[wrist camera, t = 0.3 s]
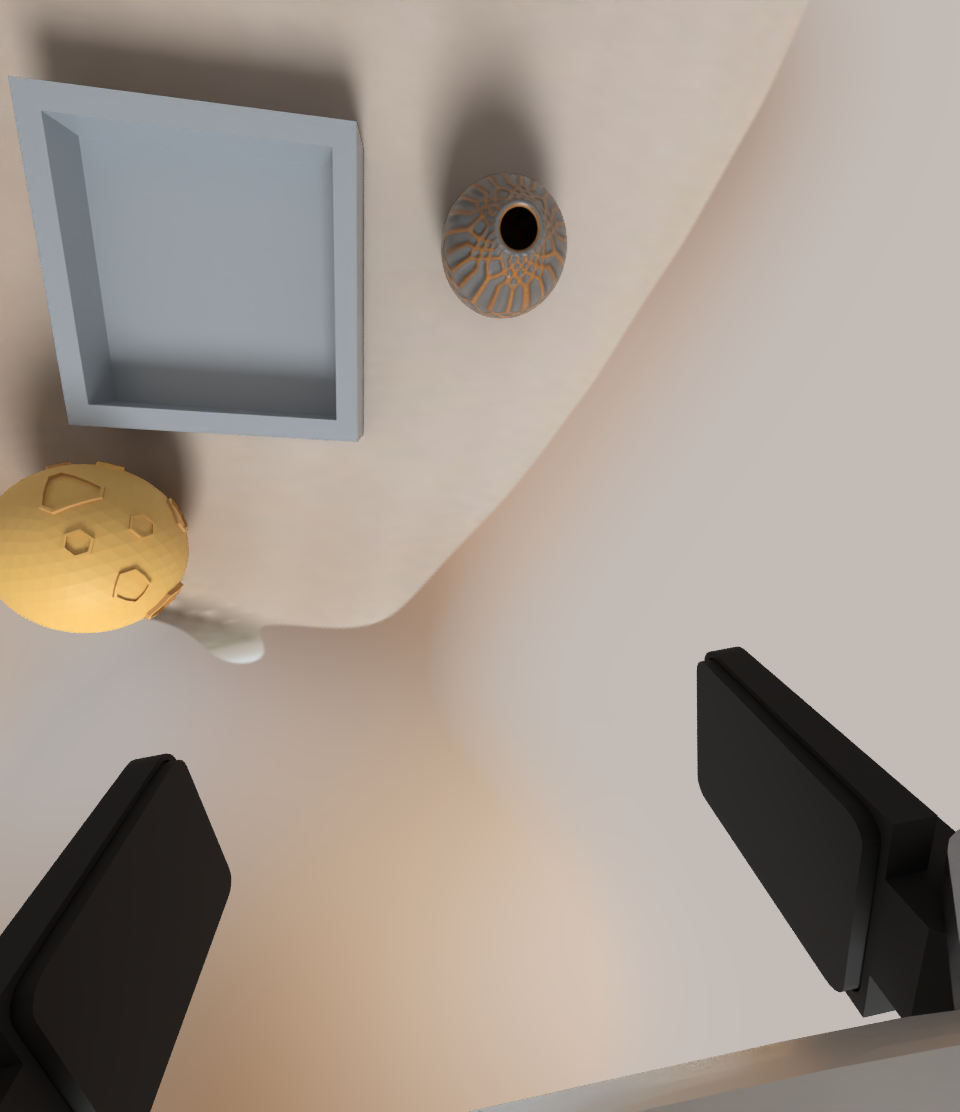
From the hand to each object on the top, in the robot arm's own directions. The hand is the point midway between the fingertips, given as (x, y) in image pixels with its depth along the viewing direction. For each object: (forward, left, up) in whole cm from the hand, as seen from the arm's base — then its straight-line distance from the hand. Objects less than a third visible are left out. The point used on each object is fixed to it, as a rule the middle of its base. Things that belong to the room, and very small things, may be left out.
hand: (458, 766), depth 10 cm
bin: (-10, -13, -29) cm, 33 cm away
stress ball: (+5, -20, -29) cm, 36 cm away
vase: (-13, +3, -29) cm, 32 cm away
